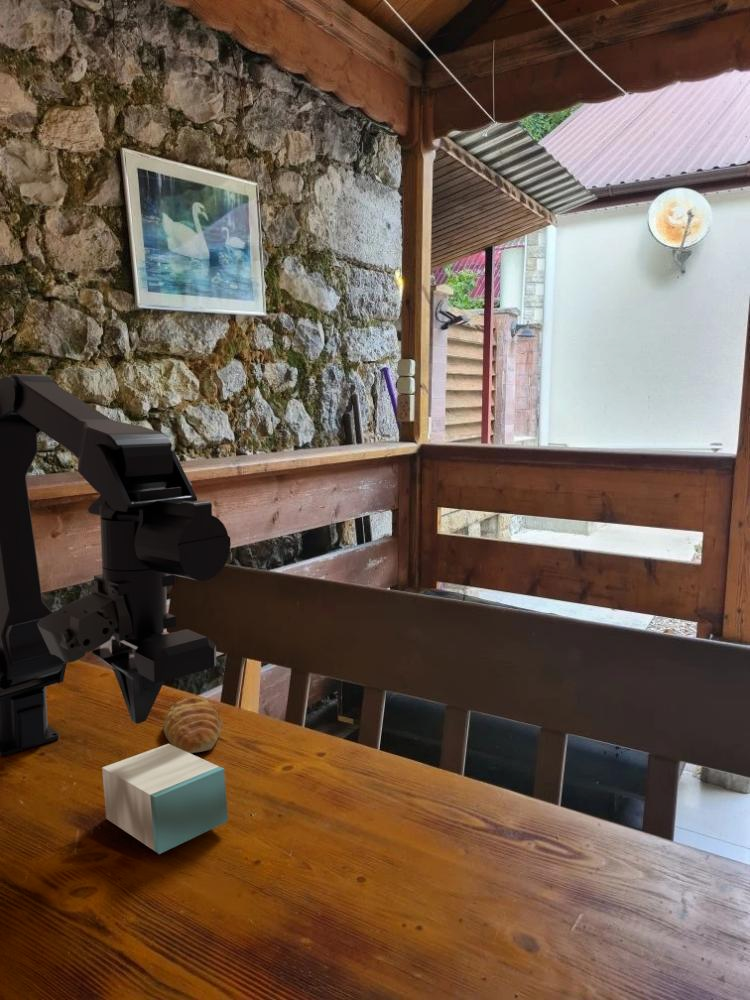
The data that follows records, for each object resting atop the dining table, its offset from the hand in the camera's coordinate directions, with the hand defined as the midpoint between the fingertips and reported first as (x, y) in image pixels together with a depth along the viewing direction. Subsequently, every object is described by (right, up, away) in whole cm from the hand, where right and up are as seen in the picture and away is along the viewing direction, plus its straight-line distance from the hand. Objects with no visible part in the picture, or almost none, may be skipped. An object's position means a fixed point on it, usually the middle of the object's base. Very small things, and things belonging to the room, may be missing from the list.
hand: (139, 721), depth 70 cm
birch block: (0, -6, +1) cm, 6 cm away
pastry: (+1, -7, +16) cm, 18 cm away
